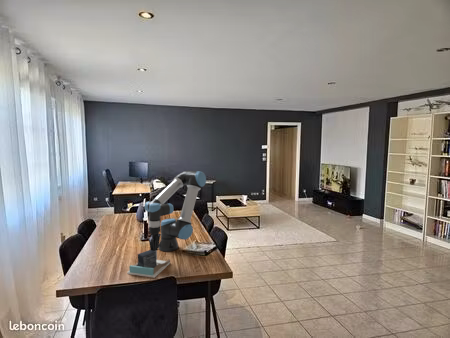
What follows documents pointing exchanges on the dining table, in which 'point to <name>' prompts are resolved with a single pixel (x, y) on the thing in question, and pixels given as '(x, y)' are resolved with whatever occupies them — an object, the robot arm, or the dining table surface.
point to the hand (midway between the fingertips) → (154, 259)
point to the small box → (147, 259)
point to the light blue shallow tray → (148, 269)
